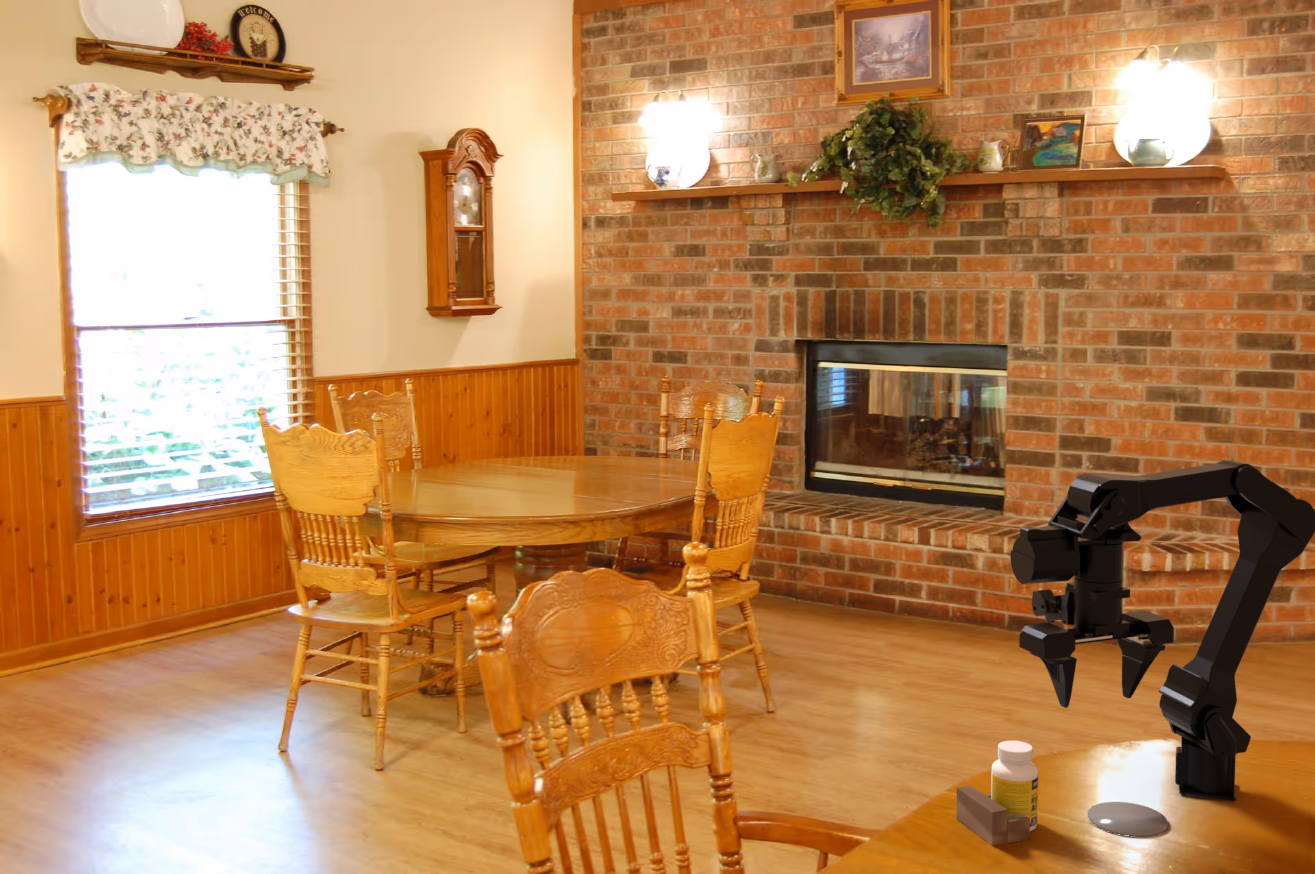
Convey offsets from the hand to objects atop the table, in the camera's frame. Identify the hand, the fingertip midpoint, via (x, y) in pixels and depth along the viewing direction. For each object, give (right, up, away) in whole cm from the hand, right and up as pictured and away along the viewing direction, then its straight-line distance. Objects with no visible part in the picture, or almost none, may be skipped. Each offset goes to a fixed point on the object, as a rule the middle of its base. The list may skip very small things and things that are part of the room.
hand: (1095, 701), depth 152 cm
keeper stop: (-14, -14, -5) cm, 21 cm away
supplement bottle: (-11, -14, -4) cm, 18 cm away
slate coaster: (+2, -14, -4) cm, 14 cm away
